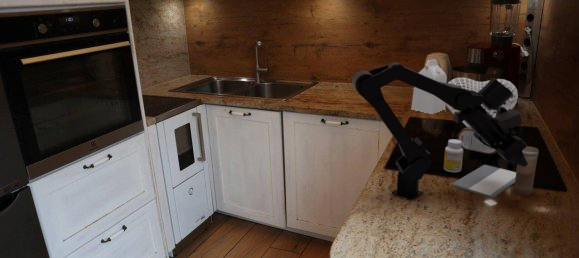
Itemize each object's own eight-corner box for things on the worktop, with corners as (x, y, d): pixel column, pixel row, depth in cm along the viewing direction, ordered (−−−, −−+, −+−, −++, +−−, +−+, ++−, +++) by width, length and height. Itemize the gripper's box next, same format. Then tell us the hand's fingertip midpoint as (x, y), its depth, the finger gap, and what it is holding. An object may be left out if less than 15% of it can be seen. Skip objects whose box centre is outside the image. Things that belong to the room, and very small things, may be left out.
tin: (501, 154, 147) (504, 132, 145) (498, 157, 145) (501, 134, 143) (458, 146, 157) (461, 124, 155) (455, 148, 155) (457, 126, 153)
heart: (510, 128, 177) (517, 77, 171) (514, 139, 163) (522, 83, 157) (440, 123, 187) (445, 74, 181) (439, 132, 173) (443, 80, 167)
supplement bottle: (446, 165, 139) (449, 137, 136) (463, 168, 135) (466, 140, 133) (440, 170, 135) (443, 141, 132) (457, 174, 131) (460, 144, 129)
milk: (424, 108, 213) (428, 57, 206) (445, 112, 205) (449, 59, 198) (410, 112, 206) (414, 60, 199) (431, 117, 198) (435, 62, 190)
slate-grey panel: (493, 198, 115) (493, 196, 114) (451, 185, 123) (451, 183, 123) (523, 176, 129) (523, 174, 128) (484, 166, 137) (484, 164, 137)
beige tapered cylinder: (528, 197, 115) (535, 152, 111) (510, 192, 118) (516, 148, 115) (534, 192, 118) (541, 148, 114) (517, 187, 121) (523, 145, 118)
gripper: (524, 109, 102) (562, 150, 105) (488, 93, 119) (522, 129, 123) (488, 140, 104) (526, 180, 107) (458, 120, 122) (492, 155, 125)
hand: (516, 159), depth 115 cm, fingers open, 9 cm apart
